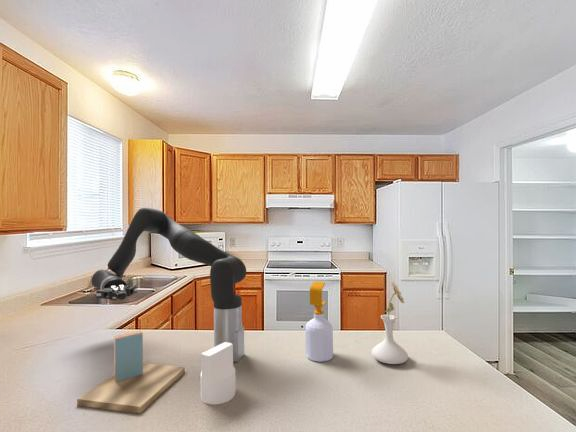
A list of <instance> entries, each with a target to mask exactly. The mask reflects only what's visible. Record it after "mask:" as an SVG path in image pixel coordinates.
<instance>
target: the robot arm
mask: <svg viewBox="0 0 576 432" xmlns="http://www.w3.org/2000/svg"><path fill="white" fill-rule="evenodd" d="M143 232H147V233H153V234H154V233H155V234H158V235H160V236H162V237H164V238H165V239H167V240H168V242H169V245H170V247H171V248H172V249H173V250H174V251H175V252H176V253H178V254H179V255H180V256H182V257H184V258H186V259H187V260H189V261H193V262H195V263H200V264H204V265H206V266H210V270H209V272H210V273H209V281H210V295H211V296H210V297H211V299H212V302H213V341H214V342H213V346H214V347H216V346H218V345H220V344H222V343H224V342H228V343H232V344H233V363H234V362H235V363H239V361H240V360H241V359H242V358H243V357H244V355H245V327H244V326H243V317H242V316H243V315H242V314H243V310H242V306H243V305H242V304H243V301H242V297H241V295H239V294H236V293H235V291H234V285H235V284H237V283H240V282H242V281H243V280H244V279H245V278H246V276H247V267H246V265H245V263H244V262H243V260H241V258H238V257H237V256H235V255H234V254H230V253H229V252H227V251H224V250H222V249H221V248H219V247H217V246H216V245H213V243H210V242H209V241H208V240H206V239H204V238H203V237H202V236H200V235H198V234H197V233H196V232H193V231H192V230H190V229H189V228H187V227H185V226H183V225H181V224H179V223H177V222H176V221H174V219H172V218H171V217H170V216H169V215H168V214H166V213H165V212H164V211H162V210H160V209H157V208H156V209H155V208H152V207H148V206H145V207H140V208H139V209H138V210H137V211H136V212H135V214H134V215H133V217H132V220H131V222H130V224H129V226H128V228H127V230H126V232H125V234H124V236H123V239H122V241H121V243H120V245H119V247H118V248H117V249H116V251H115V252H114V253H113V255H112V256H111V257H110V259H109V260H108V263H107V268H108V270H105V269H99V270H97V271H96V272H94V273H93V274H92V276H91V280H90V281H91V282H90V283H91V285H92V287H94V288H96V289H97V290H96V291H95V293H96V294H95V295H96V296H95V297H96V299H105V300H109V301H116V300H117V301H118V300H119V301H122V300H125V299H127V297H131V296H133V295H135V294H137V293H138V285H135V284H134V285H131V286H130V285H128V284H127V283H126V281H125V280H123V276H124V274H125V272H126V270H127V269H128V267H129V266H130V264H131V263H132V261H133V260H134V258H135V256H136V253H137V242H138V239H139V237H140V236H141V235H142V234H143ZM109 270H110V271H109Z"/></svg>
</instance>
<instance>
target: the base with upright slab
mask: <svg viewBox="0 0 576 432" xmlns="http://www.w3.org/2000/svg"><path fill="white" fill-rule="evenodd" d="M199 374H200V376H199V377H200V400H201V402H202V403H205V404H207V405H220V404H224V403H227V402H229V401H230V400H232V399H233V398H234V397H235V395H236V393H237V392H236V367H235V366H234V362H233V344H232V343H228V342H224V343H222V344H220V345H218V346H216V347H211V348H210V349H208V350H206V351H203V352H201V371H200V373H199Z"/></svg>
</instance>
